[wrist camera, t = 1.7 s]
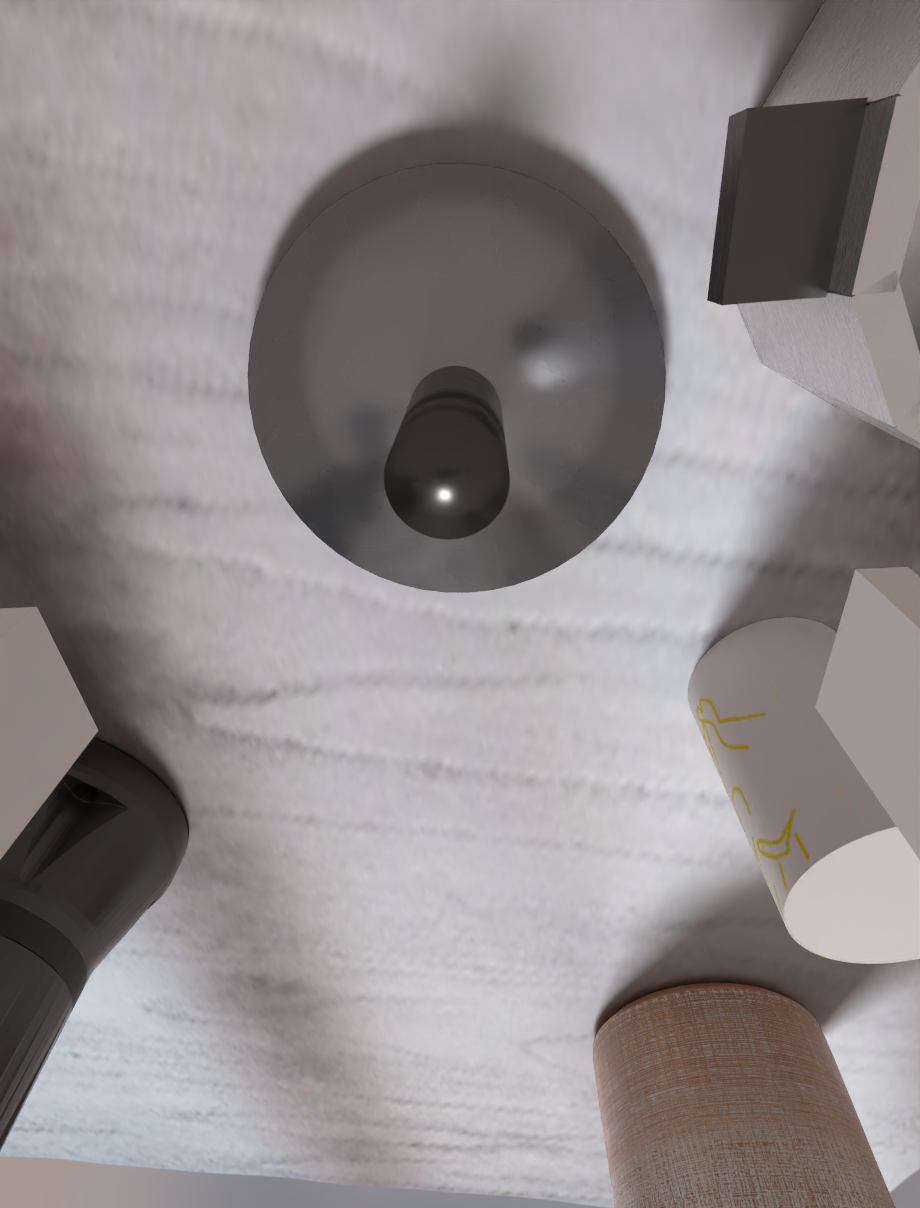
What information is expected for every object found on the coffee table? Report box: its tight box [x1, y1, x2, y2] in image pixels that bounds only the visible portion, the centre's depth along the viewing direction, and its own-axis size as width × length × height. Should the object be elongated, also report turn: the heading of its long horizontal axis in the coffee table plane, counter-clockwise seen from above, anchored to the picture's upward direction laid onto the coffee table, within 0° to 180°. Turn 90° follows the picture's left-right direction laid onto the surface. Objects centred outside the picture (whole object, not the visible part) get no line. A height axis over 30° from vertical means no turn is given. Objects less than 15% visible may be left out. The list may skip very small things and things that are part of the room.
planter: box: [593, 983, 895, 1208], centre depth 44 cm, size 18×18×16 cm
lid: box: [248, 163, 666, 592], centre depth 22 cm, size 16×16×9 cm
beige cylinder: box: [688, 617, 920, 964], centre depth 27 cm, size 8×8×12 cm
